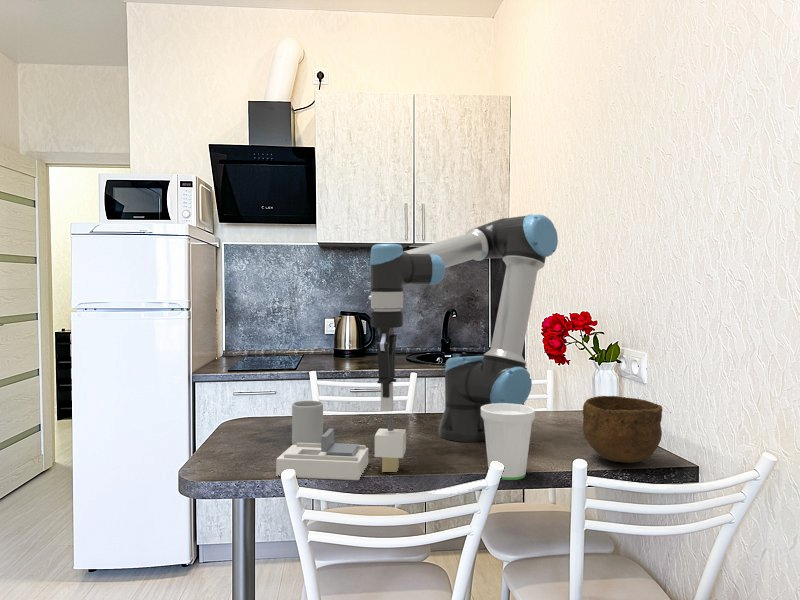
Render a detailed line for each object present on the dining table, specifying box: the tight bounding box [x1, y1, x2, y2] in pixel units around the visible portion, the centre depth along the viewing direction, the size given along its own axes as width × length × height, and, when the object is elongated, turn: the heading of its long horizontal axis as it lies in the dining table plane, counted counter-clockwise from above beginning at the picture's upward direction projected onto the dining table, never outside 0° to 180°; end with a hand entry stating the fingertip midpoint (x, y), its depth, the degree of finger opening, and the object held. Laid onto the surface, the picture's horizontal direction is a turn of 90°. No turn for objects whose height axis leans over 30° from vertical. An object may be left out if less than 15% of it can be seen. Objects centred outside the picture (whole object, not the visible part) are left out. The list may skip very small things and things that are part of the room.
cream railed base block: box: [275, 443, 369, 481], centre depth 136 cm, size 19×12×5 cm, turn 83°
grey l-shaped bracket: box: [321, 428, 360, 456], centre depth 136 cm, size 7×8×5 cm
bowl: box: [582, 395, 664, 464], centre depth 144 cm, size 19×19×15 cm
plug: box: [374, 418, 407, 473], centre depth 136 cm, size 6×6×12 cm
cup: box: [481, 403, 536, 481], centre depth 134 cm, size 12×12×15 cm
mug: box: [291, 400, 324, 445], centre depth 161 cm, size 12×8×11 cm
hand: (387, 410), depth 136 cm, fingers closed
